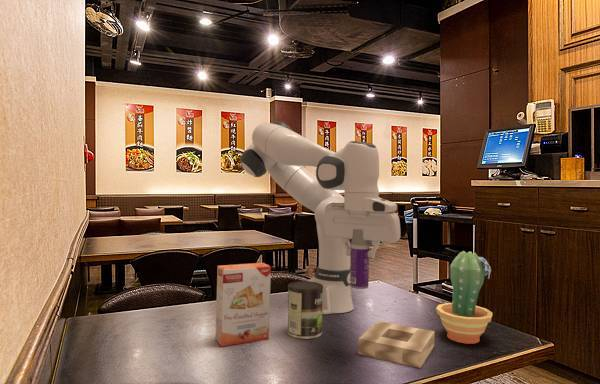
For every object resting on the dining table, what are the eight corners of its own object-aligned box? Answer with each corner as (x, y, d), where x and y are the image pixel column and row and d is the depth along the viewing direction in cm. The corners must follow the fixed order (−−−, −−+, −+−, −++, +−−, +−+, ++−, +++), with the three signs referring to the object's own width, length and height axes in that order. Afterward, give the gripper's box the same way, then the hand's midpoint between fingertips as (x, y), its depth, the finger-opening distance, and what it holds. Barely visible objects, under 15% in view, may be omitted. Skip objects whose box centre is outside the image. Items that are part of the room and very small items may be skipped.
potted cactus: (481, 353, 109) (483, 258, 109) (426, 337, 120) (428, 251, 119) (500, 337, 121) (502, 252, 120) (448, 324, 131) (450, 245, 131)
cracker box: (221, 348, 110) (222, 269, 109) (215, 340, 115) (216, 265, 114) (270, 339, 116) (271, 265, 116) (262, 332, 121) (263, 261, 121)
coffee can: (325, 328, 125) (326, 282, 125) (317, 341, 115) (318, 291, 115) (293, 324, 128) (294, 279, 128) (282, 336, 118) (283, 287, 118)
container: (367, 289, 105) (369, 230, 105) (349, 288, 106) (350, 229, 106) (368, 285, 110) (370, 228, 109) (351, 284, 111) (352, 227, 110)
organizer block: (358, 353, 107) (358, 338, 107) (377, 334, 121) (378, 321, 121) (420, 368, 100) (421, 351, 100) (434, 346, 114) (434, 331, 114)
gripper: (320, 202, 110) (319, 254, 110) (395, 205, 100) (394, 263, 100) (330, 201, 115) (329, 251, 116) (403, 204, 105) (401, 259, 106)
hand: (360, 256), depth 108 cm, fingers closed on container, 5 cm apart
